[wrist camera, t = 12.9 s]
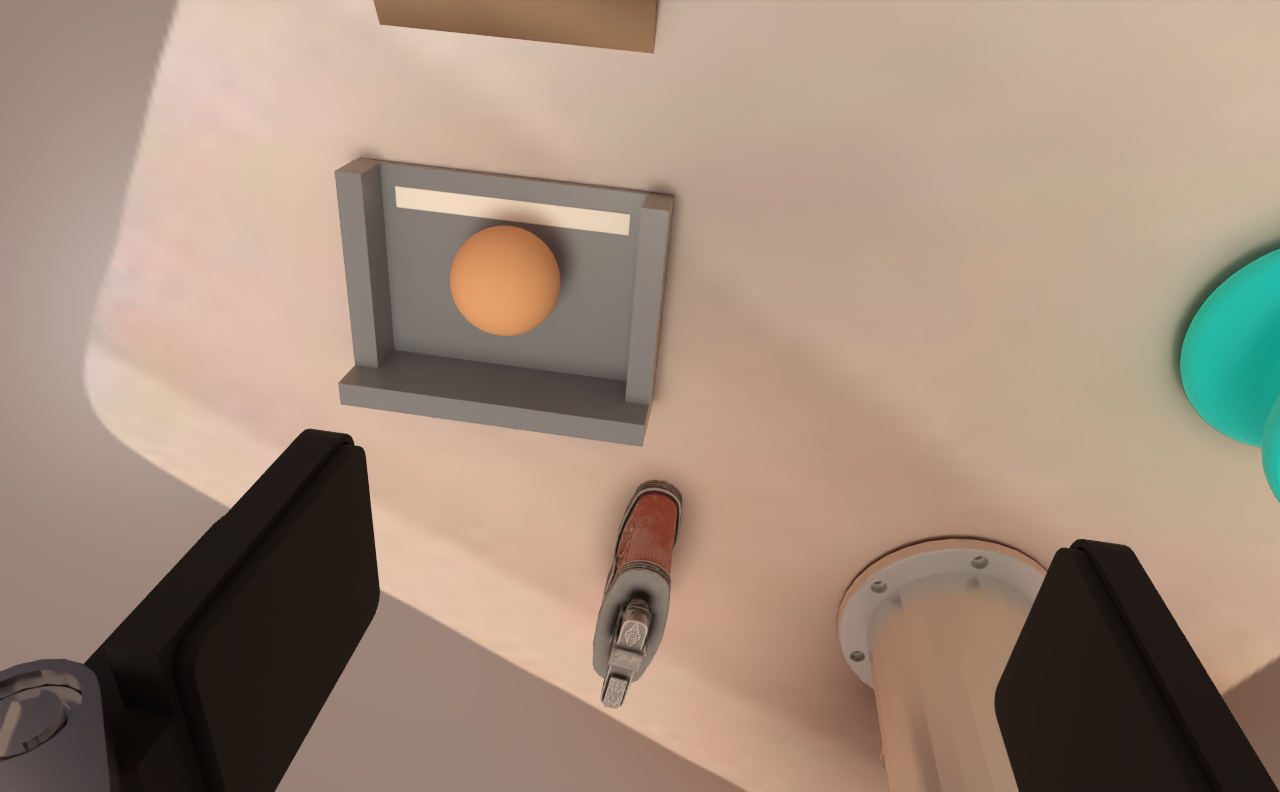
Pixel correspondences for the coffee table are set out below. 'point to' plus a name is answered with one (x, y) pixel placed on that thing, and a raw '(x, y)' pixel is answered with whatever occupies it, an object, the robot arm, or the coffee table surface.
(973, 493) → the coffee table surface
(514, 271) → the ball
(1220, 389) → the donuts
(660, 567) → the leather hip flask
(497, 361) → the box
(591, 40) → the ramp
